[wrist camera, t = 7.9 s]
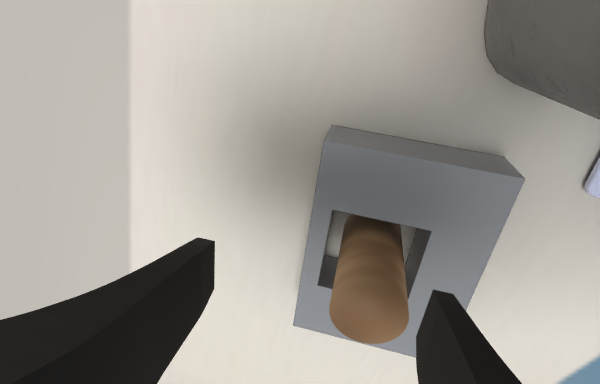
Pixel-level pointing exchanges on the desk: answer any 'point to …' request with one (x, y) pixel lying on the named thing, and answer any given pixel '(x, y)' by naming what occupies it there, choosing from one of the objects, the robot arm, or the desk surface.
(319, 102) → the desk surface
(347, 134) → the socket board
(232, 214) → the desk surface
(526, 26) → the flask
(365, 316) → the walnut dowel
